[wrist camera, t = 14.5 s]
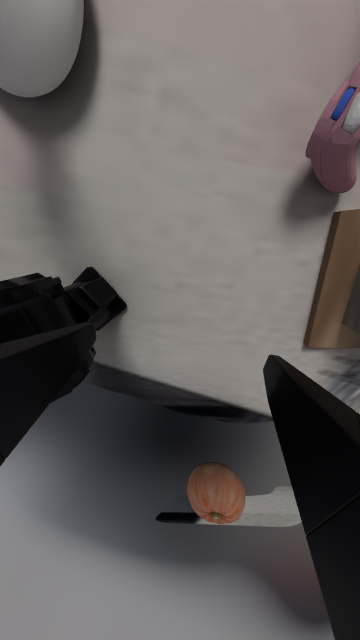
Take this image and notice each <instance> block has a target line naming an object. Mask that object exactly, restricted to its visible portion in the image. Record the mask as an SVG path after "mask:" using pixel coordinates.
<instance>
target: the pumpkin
mask: <svg viewBox="0 0 360 640" xmlns="http://www.w3.org/2000/svg"><path fill="white" fill-rule="evenodd" d="M187 492H188V498H189V501H190V504H191V506H192V508H193V509H194V511H195V512H196V513H197V515H199V516H200V517H202V518H203V519H205V520H207V521H209V522H213V523H218V524H226V523H232V522H234V521H236V520H237V519H238V518H239V517H240V516H241V514H242V512H243V510H244V507H245V491H244V487H243V484H242V482H241V480H240V479H239V477H238V476H237V475H236V473H235V472H234V471H233V470H232V469H230V468H229V467H227V466H226V465H223V464H221V463H217V462H206V463H203V464H200V465H199V466H197V467H196V468H195V469H194V470H193V472H192V473H191V475H190V477H189V480H188V484H187Z"/></svg>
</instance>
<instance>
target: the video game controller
mask: <svg viewBox="0 0 360 640" xmlns="http://www.w3.org/2000/svg"><path fill="white" fill-rule="evenodd" d="M359 141H360V63H359V65H358V66H357V68H356V70H355V72H354V73H353V75H352V77H351V78H350V80H347V81H345V82H344V83H343V84H342V85H341V86H340V88H339V89H338V90H337V91H336V92H335V94H334V95H333V97H332V98H331V100H330V101H329V103H328V104H327V106H326V108H325V109H324V111H323V113H322V115H321V117H320V119H319V121H318V123H317V125H316V127H315V129H314V131H313V133H312V135H311V137H310V140H309V143H308V145H307V149H306V157H308V158H310V159H311V163H312V166H313V169H314V172H315V174H316V177H317V178H318V180H319V182H320V183H321V184H322V186H323V187H325V188H326V189H327V190H328V191H330V192H332V193H343V192H347V191H349V190H350V189H351V188H352V187H353V186H354V184H355V181H356V169H355V163H354V154H355V148H356V146H357V144H358V142H359Z"/></svg>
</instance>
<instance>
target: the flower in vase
mask: <svg viewBox="0 0 360 640" xmlns="http://www.w3.org/2000/svg"><path fill="white" fill-rule="evenodd" d="M83 13H84V0H0V88H1V89H3V90H5V91H6V92H9V93H11V94H14V95H16V96H21V97H37V96H41V95H44V94H47V93H49V92H51V91H53V90H54V89H55V88H57V87H58V86H59V85H60V84H61V83H62V82H63V81H64V80H65V78H66V76H67V75H68V73H69V72H70V70H71V68H72V66H73V64H74V61H75V58H76V55H77V53H78V49H79V45H80V40H81V34H82V27H83Z"/></svg>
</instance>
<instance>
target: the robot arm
mask: <svg viewBox="0 0 360 640" xmlns="http://www.w3.org/2000/svg"><path fill="white" fill-rule="evenodd" d="M90 270H91V272H92V273H91V272H90ZM121 304H122V305H123V306H124V307H122V306H121ZM126 307H127V305H126V303H125V302H124V301H123V300H122V299H121V298H120V296H119V295H118V294H117V292H116V291H115V290H114V289H113V288H112V287H111V286H110V285H109V283H108V282H107V281H106V280H105V279H104V278H102V277H101V276H100V275H99V273H98V272H97V271H96V270H95V269H94V268H93V267H87V268H86V269H85V270H84V271H83V272H82V274H81V275H80V276H79V277H78V278H77V279H76V280H75V281H74V282H73V283H72V284H71V285H69V286H66V287H64V288H63V286H62V284H61V280H60V278H59V277H55V278H52V277H51V276H50V277H44V276H43V275H41V274H39V273H35V274H31V275H26V276H22V277H17V278H13V279H9V280H4V281H0V466H1V465H2V463H3V462H4V461H5V459H6V458H7V457H8V456H9V454H10V453H11V452H12V450H13V449H14V448H15V447H16V446H17V444H18V443H19V442H20V440H21V439H22V438H23V436H24V435H25V434H26V433H27V432H28V430H29V429H30V428H31V426H32V425H33V424H34V423H35V421H36V420H37V419H38V418H39V416H40V415H41V414H42V413H43V411H44V410H45V409H46V408H47V406H48V405H49V404H50V403H52V402H53V401H55V400H57V399H58V398H60V397H63V396H65V395H67V394H69V393H70V392H72V389H74V388H75V387H76V386H78V385H79V384H80V383H81V382H82V381H83V380H84V378H85V377H86V376H87V375H88V373H89V371H90V369H89V368H90V365H91V363H92V362H93V359H94V356H95V354H96V351H95V349H94V348H93V347H92V346H93V344H94V342H95V341H96V330H97V331H98V330H100V329H101V328H102V327H103V326H105V325H106V324H107V323H108V322H110V321H111V320H112V319H113V318H114V317H116V316H117V315H118V314H119V313H121V312H122V311H123V310H124V309H125V308H126ZM263 374H264V380H265V386H266V393H267V398H268V403H269V407H270V410H271V414H272V417H273V421H274V424H275V428H276V431H277V435H278V438H279V442H280V445H281V449H282V453H283V456H284V460H285V463H286V467H287V471H288V474H289V478H290V481H291V485H292V488H293V492H294V496H295V499H296V503H297V506H298V510H299V513H300V517H301V520H302V524H303V527H304V531H305V534H306V535H307V536H306V538H307V542H308V546H309V549H310V553H311V557H312V560H313V564H314V567H315V571H316V574H317V578H318V581H319V585H320V588H321V592H322V595H323V599H324V602H325V606H326V610H327V613H328V617H329V620H330V624H331V628H332V631H333V635H334V638H335V640H360V414H359V413H356V411H354V410H353V409H352V408H350V407H349V406H348V405H346V404H345V403H343V402H342V401H341V400H339V399H338V398H336V397H335V396H334V395H332V394H331V393H330V392H328V391H327V390H325V389H324V388H323V387H321V386H320V385H319V384H317V383H316V382H314V381H313V380H312V379H310V378H309V377H307V376H306V375H305V374H303V373H302V372H301V371H299V370H298V369H296V368H295V367H294V366H292V365H291V364H289V363H288V362H287V361H285V360H284V359H283V358H281V357H280V356H277V355H269V356H268V358H267V361H266V363H265V366H264V368H263Z"/></svg>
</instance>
